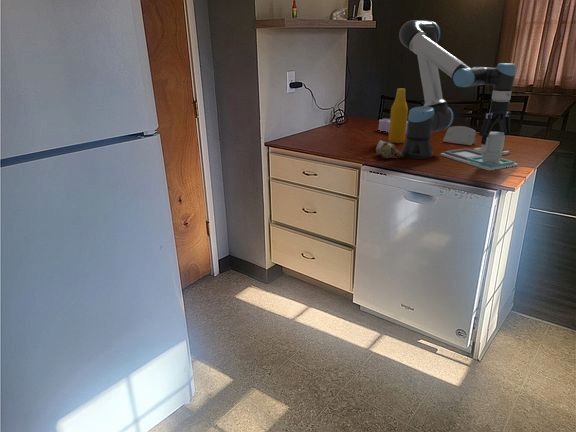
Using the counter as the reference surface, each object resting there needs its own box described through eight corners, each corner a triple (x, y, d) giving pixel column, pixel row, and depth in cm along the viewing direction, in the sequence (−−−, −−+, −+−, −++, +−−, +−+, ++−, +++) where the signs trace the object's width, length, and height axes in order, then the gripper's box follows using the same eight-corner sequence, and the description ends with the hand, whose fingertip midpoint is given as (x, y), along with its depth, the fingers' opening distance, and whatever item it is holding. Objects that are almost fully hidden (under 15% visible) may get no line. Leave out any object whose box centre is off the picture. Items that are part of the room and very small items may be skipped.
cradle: (490, 156, 215) (491, 153, 214) (471, 151, 225) (471, 148, 225) (509, 154, 220) (509, 151, 220) (489, 148, 230) (490, 146, 230)
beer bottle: (398, 144, 242) (403, 90, 231) (384, 141, 248) (389, 88, 237) (408, 141, 247) (413, 88, 236) (394, 139, 254) (399, 87, 243)
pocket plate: (488, 170, 193) (489, 166, 192) (440, 155, 218) (441, 151, 217) (517, 165, 200) (518, 161, 199) (467, 151, 225) (467, 147, 224)
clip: (374, 131, 275) (375, 120, 272) (385, 128, 283) (386, 118, 281) (403, 136, 262) (404, 124, 260) (413, 132, 271) (414, 121, 268)
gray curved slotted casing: (442, 141, 248) (446, 123, 247) (444, 142, 252) (449, 125, 250) (472, 145, 238) (476, 127, 237) (474, 146, 242) (479, 129, 241)
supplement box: (501, 159, 203) (505, 132, 198) (498, 162, 197) (502, 134, 193) (484, 157, 207) (487, 130, 202) (481, 160, 201) (484, 133, 196)
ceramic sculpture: (389, 135, 220) (406, 143, 208) (387, 152, 224) (404, 161, 211) (371, 137, 217) (387, 145, 204) (369, 154, 221) (385, 163, 208)
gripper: (489, 103, 185) (480, 154, 193) (525, 99, 193) (515, 149, 202) (475, 100, 191) (467, 150, 199) (511, 97, 200) (502, 145, 208)
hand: (491, 150), depth 201 cm, fingers closed on supplement box, 10 cm apart
